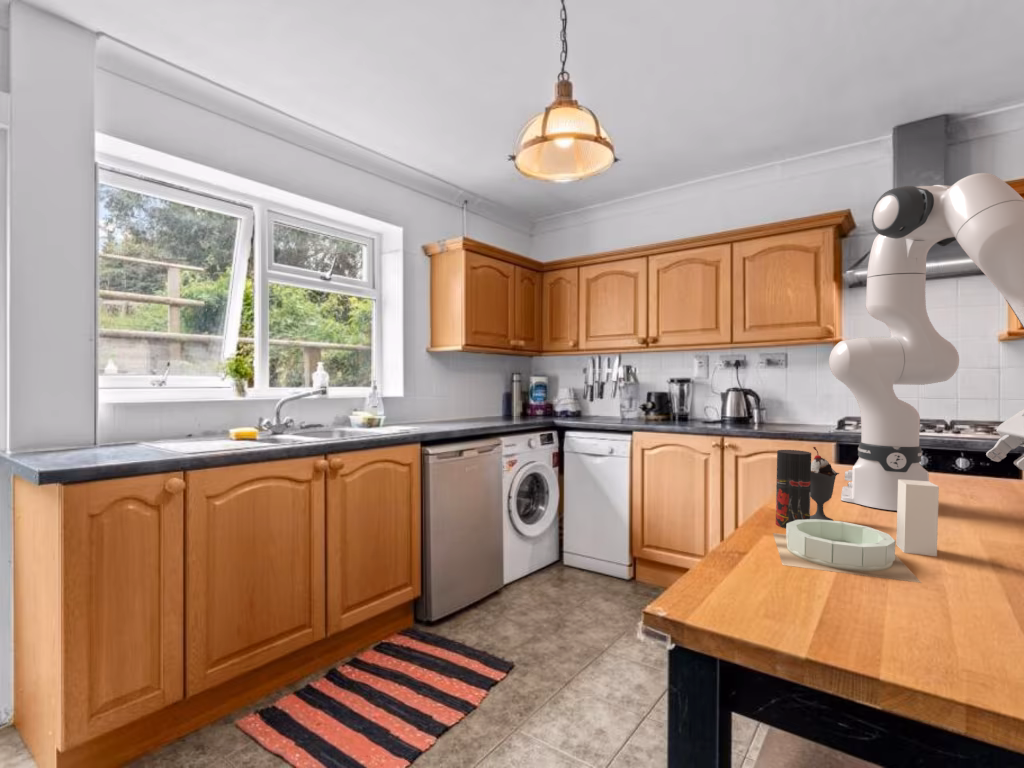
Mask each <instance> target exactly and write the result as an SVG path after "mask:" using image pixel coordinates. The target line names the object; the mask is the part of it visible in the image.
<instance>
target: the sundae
mask: <svg viewBox="0 0 1024 768" xmlns="http://www.w3.org/2000/svg"><path fill="white" fill-rule="evenodd" d="M812 448H813V450H815V451H816V453H817V454H816V455H814V458H813V460H812V461H811V491H810V499H812V500H813V501H815V503H816V511H815V514H812V515H811V514H810V519H817V520H818V519H821V520H831V521H833V520H834V519H833V518H831V517H828V516H827V515H826V514H825V512H824V504H825V503H827V502H829V501H830V500H831V498H832V497H833V496H832V495H833V492H834V488H835V486H834V485H835V482H836V481H835V480H836V478H837V475H839V474H840V472H836V471H835V469H833V468H832V465H831V463H830V462H829V461H828V459H825V458H823V457H822V456H821V455H819V451H818V449H817V448H816V446H813V447H812Z"/></svg>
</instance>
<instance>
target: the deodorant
mask: <svg viewBox="0 0 1024 768" xmlns="http://www.w3.org/2000/svg"><path fill="white" fill-rule="evenodd" d="M811 463H812V452H810V451H805V450H797V449H777V451H776V490H775V492H776V497H775V525H776V526H777V527H780V528H782V529H785V530H786V524H787V523H789V522H792V521H795V520H805V519H810V516H811V497H810V491H811Z"/></svg>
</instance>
